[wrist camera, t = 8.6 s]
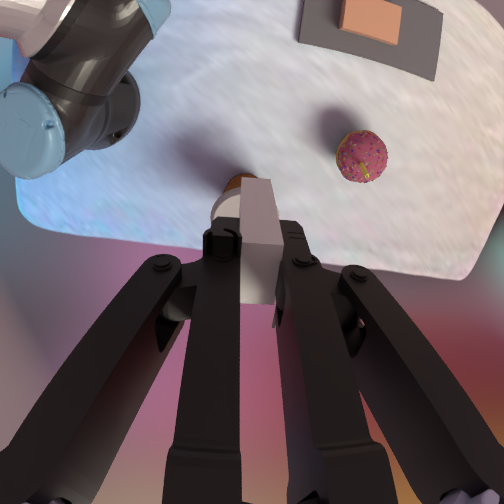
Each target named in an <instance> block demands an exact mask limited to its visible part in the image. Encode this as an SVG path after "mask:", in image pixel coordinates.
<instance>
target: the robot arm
mask: <svg viewBox="0 0 504 504" xmlns="http://www.w3.org/2000/svg"><path fill="white" fill-rule="evenodd" d="M170 13H171V3H170V1H169V0H0V37H4V38H9V39H13V40H15V41H16V42H17V45H18V47H19V50H20V53H21V55H22V57H25V58H29V59H30V61H29V63H28V65H27V67H26V69H25V71H24V73H23V75H22V77H21V80H20V82H16V83H13V84H11V85H9V86H8V87H7V88H6V89H4V90H3V91H1V92H0V164H1V165H2V166H3V167H4V168H5V169H6V170H7V171H8V172H9V173H11V174H12V175H14V176H16V177H18V178H21V179H28V180H30V179H36V178H39V177H41V176H43V175H45V174H47V173H51V172H53V171H54V170H56V169H57V168H58V167H59V166H60V165H61V164H63V163H64V162H66V161H68V160H69V159H71V158H72V157H74V156H75V155H77V154H79V153H80V152H82V151H83V150H85V149H86V150H100V149H104V148H107V147H110V146H112V145H114V144H115V143H117V142H119V141H120V140H122V139H123V138H124V137H125V136H126V135H127V134H128V133H129V132H130V131H131V129H132V128H133V126H134V124H135V122H136V120H137V118H138V114H139V110H140V93H139V89H138V86H137V83H136V81H135V79H134V78H133V76H132V75H131V74H130V73H129V72H128V71H127V70H128V69H129V68H130V66H131V65H132V64H133V62H134V61H135V59H136V58H137V57H138V55H139V54H140V53H141V52H142V50H143V49H144V48H145V46H146V45H147V44H148V43H149V41H150V40H153V39H154V38H155V36H156V34H157V31H158V30H159V29H160V27H161V26H162V25H163V23H164V22H165V21H166V20H167V18H168V17H169V15H170ZM275 296H276V309H275V314H274V319H273V324H272V328H275V324H276V334H277V345H278V355H279V365H280V375H281V387H282V398H283V410H284V421H285V432H286V445H287V456H288V469H289V482H288V487H287V504H398V500H397V495H396V490H395V485H394V481H393V476H392V472H391V467H390V463H389V459H388V455H387V452H386V450H385V448H384V447H383V446H382V444H380V443H378V442H375V441H373V440H372V438H371V436H370V433H369V429H368V425H367V421H366V417H365V413H364V409H363V405H362V401H361V397H360V393H359V390H360V392H361V394H362V396H363V398H364V400H365V401H366V403H367V405H368V407H369V409H370V411H371V412H372V414H373V416H374V418H375V420H376V422H377V423H378V425H379V427H380V429H381V431H382V433H383V435H384V437H385V438H386V440H387V442H388V444H389V446H390V448H391V449H392V451H393V453H394V455H395V457H396V459H397V461H398V463H399V465H400V467H401V469H402V471H403V472H404V474H405V476H406V478H407V480H408V482H409V484H410V486H411V488H412V489H413V491H414V493H415V494H416V496H417V498H418V499H419V500H420V501H421V503H422V504H504V448H503V446H501V445H500V444H499V443H498V441H497V440H496V438H495V436H494V435H493V433H492V432H491V430H490V428H489V427H488V425H487V424H486V422H485V421H484V419H483V417H482V416H481V415H480V413H479V411H478V410H477V408H476V407H475V405H474V404H473V402H472V401H471V399H470V398H469V397H468V395H467V394H466V392H465V391H464V389H463V388H462V386H460V384H459V382H458V381H457V379H456V378H455V377H454V375H453V374H452V373H451V371H450V370H449V368H448V367H447V365H446V364H445V363H444V361H443V360H442V359H441V357H440V356H439V355H438V353H437V352H436V351H435V349H434V348H433V347H432V345H431V344H430V343H429V341H428V340H427V339H426V338H425V336H424V335H423V334H422V332H421V331H420V330H419V328H418V327H417V326H416V325H415V323H414V322H413V321H412V320H411V318H410V317H409V316H408V315H407V314H406V312H405V311H404V310H403V308H402V307H401V306H400V305H399V304H398V302H397V301H396V300H395V299H394V297H393V296H392V295H391V294H390V293H389V291H388V290H387V289H386V288H385V287H384V285H383V284H382V283H381V282H380V281H379V280H378V279H377V277H376V276H375V275H374V274H373V273H372V272H371V271H370V270H369V269H367V268H365V267H363V266H359V265H348V266H345V267H344V268H343V269H342V271H341V273H337V272H333V271H330V270H326V269H324V268H322V266H321V263H320V261H319V260H318V258H317V257H315V256H314V255H312V254H311V252H310V249H309V246H308V243H307V240H306V237H305V234H304V231H303V228H302V226H301V225H300V224H299V223H298V222H296V221H289V220H279V218H278V213H277V208H276V203H275V199H274V194H273V189H272V185H271V180H270V179H261V178H248V177H242V181H241V193H240V206H239V218H236V217H221V216H217V217H216V218H215V219H214V220H213V221H212V223H211V228H210V229H208V230H206V231H205V232H204V234H203V257H202V258H201V259H199V260H197V261H195V262H191V263H187V264H181V262H180V260H179V259H178V258H177V257H175V256H172V255H168V254H159V255H155V256H152V257H150V258H148V259H147V260H146V261H145V262H144V263H143V264H142V265H141V266H140V267H139V269H138V270H137V271H136V272H135V273H134V275H133V276H132V277H131V278H130V279H129V280H128V282H127V283H126V284H125V285H124V286H123V288H122V289H121V290H120V291H119V292H118V294H117V295H116V296H115V297H114V299H113V300H112V301H111V302H110V304H109V305H108V306H107V307H106V309H105V310H104V311H103V312H102V313H101V315H100V316H99V317H98V319H97V320H96V321H95V322H94V324H93V325H92V326H91V328H90V329H89V330H88V331H87V333H86V334H85V335H84V336H83V338H82V339H81V340H80V342H79V343H78V344H77V346H76V347H75V348H74V350H73V351H72V353H71V354H70V355H69V356H68V358H67V359H66V361H65V362H64V363H63V365H62V366H61V367H60V369H59V370H58V371H57V373H56V374H55V376H54V377H53V379H52V380H51V382H50V383H49V384H48V386H47V387H46V388H45V390H44V391H43V393H42V394H41V396H40V397H39V399H38V400H37V402H36V403H35V405H34V406H33V408H32V409H31V411H30V412H29V414H28V415H27V417H26V418H25V420H24V421H23V423H22V425H21V426H20V428H19V429H18V431H17V432H16V434H15V436H14V437H13V439H12V440H11V442H10V444H9V445H8V446H7V447H6V448H5V449H3V450H2V451H1V452H0V504H91V503H92V501H93V499H94V498H95V496H96V494H97V492H98V491H99V489H100V487H101V485H102V483H103V481H104V478H105V476H106V475H107V473H108V470H109V468H110V466H111V464H112V462H113V460H114V458H115V456H116V454H117V452H118V450H119V448H120V446H121V444H122V442H123V440H124V438H125V436H126V434H127V432H128V430H129V428H130V426H131V424H132V422H133V421H134V419H135V417H136V415H137V413H138V411H139V409H140V407H141V405H142V403H143V401H144V399H145V397H146V395H147V393H148V391H149V389H150V388H151V386H152V384H153V382H154V380H155V378H156V376H157V374H158V372H159V370H160V368H161V367H162V364H163V363H164V361H165V359H166V357H167V355H168V353H169V351H170V349H171V348H172V346H173V344H174V342H175V340H176V338H177V336H178V335H179V333H180V331H181V329H182V327H183V325H184V322H185V320H188V319H191V323H190V329H189V336H188V342H187V348H186V354H185V360H184V367H183V374H182V380H181V387H180V395H179V402H178V409H177V417H176V425H175V433H174V441H173V444H172V446H171V447H170V448H169V452H168V455H167V461H166V469H165V477H164V487H163V497H162V504H250V503H247V502H242V481H241V480H242V476H241V474H242V472H241V453H240V443H239V442H240V441H239V440H240V438H239V437H240V436H239V434H240V432H239V431H240V428H239V427H240V426H239V425H240V424H239V422H240V418H239V416H240V415H239V414H240V413H239V412H240V410H239V405H240V403H239V402H240V400H239V398H240V397H239V396H240V394H239V393H240V387H239V386H240V381H239V380H240V378H239V377H240V303H249V304H269V305H274V300H275ZM361 319H362V321H363V322H364V324H365V326H364V325H363V324H362V323H361V322H360V320H361Z"/></svg>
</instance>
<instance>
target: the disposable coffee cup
mask: <svg viewBox="0 0 504 504" xmlns="http://www.w3.org/2000/svg"><path fill="white" fill-rule="evenodd" d="M242 177H248V178H257V177H256V176H254V175H251V174H239V175H237V176H235V177H234V178H232V179H231V180H230V182H229V184H228V185H227V187H226V189H225V191H224V193H223V194H222V195H221V196H220V197H219V198H218V199H217V201H216V202H215V204H214V206H213V208H212V211H211V223H212V221H213V220H214V219H215V218H216V217H217V216H221V217H236V218H239V206H240V193H241V181H242ZM276 208H277V206H276ZM277 213H278V218H279V211H278V209H277Z"/></svg>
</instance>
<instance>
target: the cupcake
mask: <svg viewBox="0 0 504 504" xmlns="http://www.w3.org/2000/svg"><path fill="white" fill-rule="evenodd" d="M387 153H388V152H387V149H386V146H385V144H384V143H383V141H382V140H381V139H380V138H379V137H378V136H377V135H376V134H375V133H373V132H371V131H367V130H363V131H354V132H350V133H348V134H347V135H346V137H345V138H344V139H343V140H342V141H341V143H340V144H339V146H338V148H337V151H336V163H337V166H338V168H339V170H340V171H341V173H342V175H343V176H344V178H346V179H348V180H349V181H354V182H359V183H361V182H365V183H366V182H370V181H373V180H374V179H376V178H378V177H379V176H380V174H381V173H382V172H383V171H384V169H385V168H386V164H387V159H388V155H387Z"/></svg>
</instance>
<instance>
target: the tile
mask: <svg viewBox="0 0 504 504" xmlns="http://www.w3.org/2000/svg"><path fill="white" fill-rule="evenodd" d="M401 11H402V7H400V6H398V5H395V4H392V3H390V2H387V1H384V0H342V8H341V15H340V22H339V30H343V31H347V32H350V33H354V34H357V35H361V36H364V37H368V38H371V39H374V40H377V41H380V42H383V43H386V44H389V45H397V43H398V36H399V28H400V20H401Z"/></svg>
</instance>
